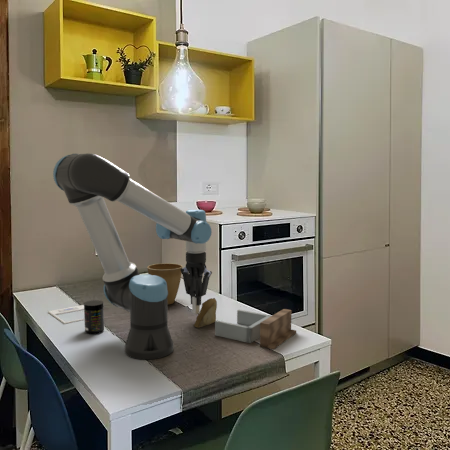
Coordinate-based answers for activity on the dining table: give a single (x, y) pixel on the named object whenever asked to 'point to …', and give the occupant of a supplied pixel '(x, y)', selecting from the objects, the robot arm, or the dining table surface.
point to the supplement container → (94, 316)
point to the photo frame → (66, 310)
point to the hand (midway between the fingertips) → (195, 313)
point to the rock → (207, 313)
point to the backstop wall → (276, 329)
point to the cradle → (241, 331)
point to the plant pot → (168, 277)
